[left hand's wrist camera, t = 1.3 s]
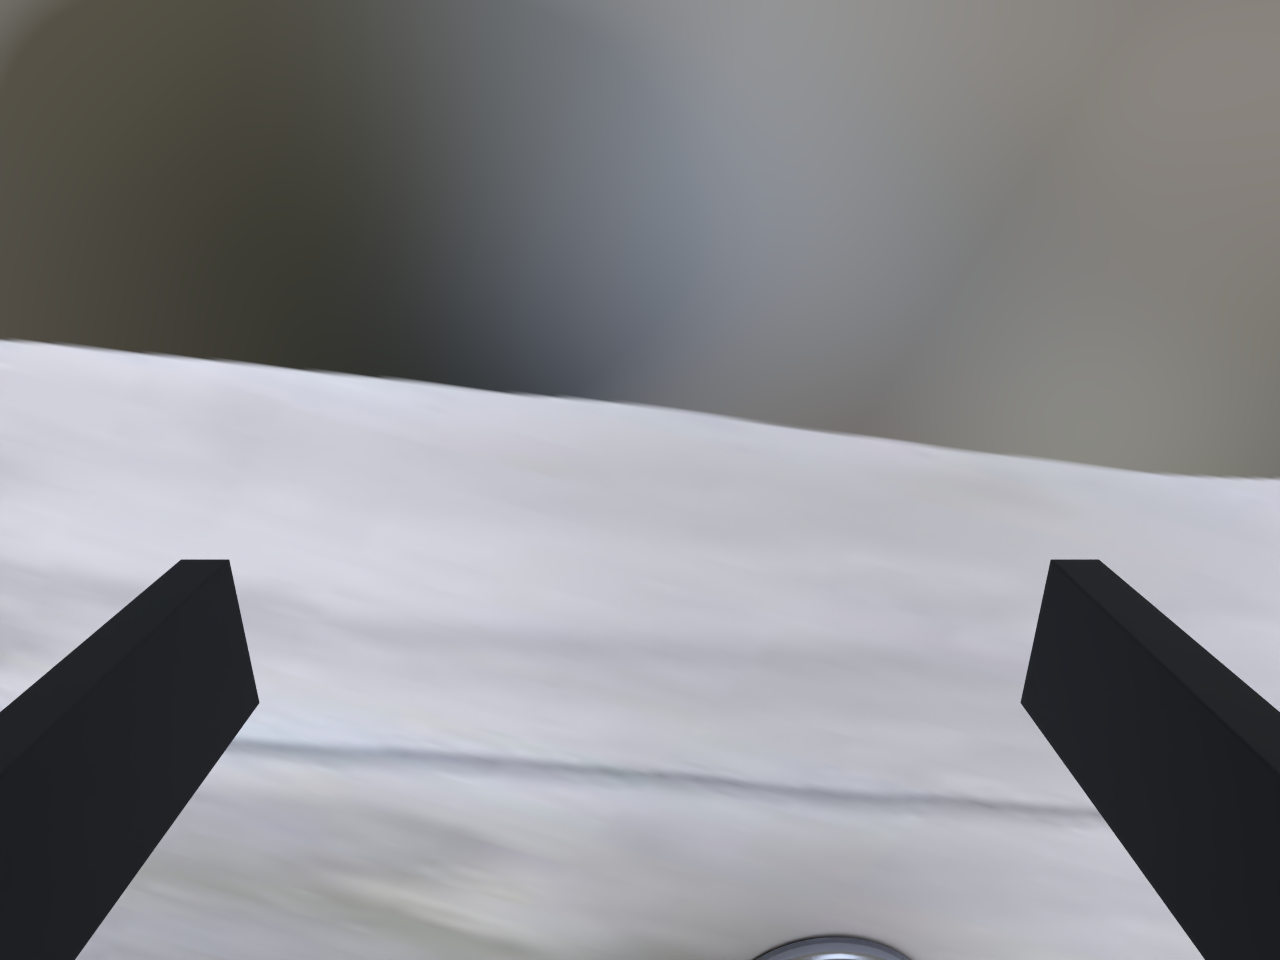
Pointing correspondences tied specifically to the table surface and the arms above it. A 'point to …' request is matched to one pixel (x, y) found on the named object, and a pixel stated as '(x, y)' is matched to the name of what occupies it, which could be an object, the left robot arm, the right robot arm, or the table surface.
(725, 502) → the table surface
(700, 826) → the table surface
